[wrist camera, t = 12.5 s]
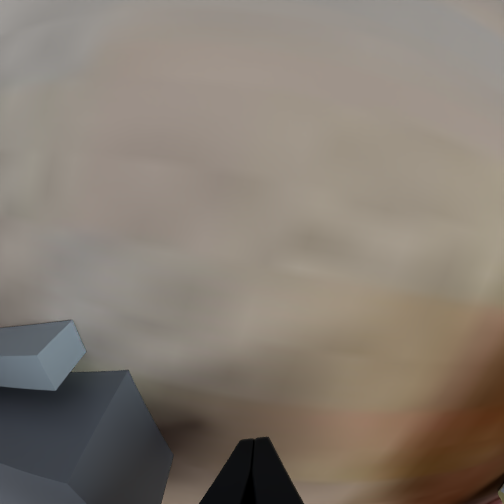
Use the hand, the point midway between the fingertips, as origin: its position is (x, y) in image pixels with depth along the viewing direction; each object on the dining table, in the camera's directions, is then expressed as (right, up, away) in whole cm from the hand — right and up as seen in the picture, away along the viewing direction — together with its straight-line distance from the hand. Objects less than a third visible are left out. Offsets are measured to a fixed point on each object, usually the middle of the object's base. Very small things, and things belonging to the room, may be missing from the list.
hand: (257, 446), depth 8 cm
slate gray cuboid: (-8, -1, +2) cm, 8 cm away
